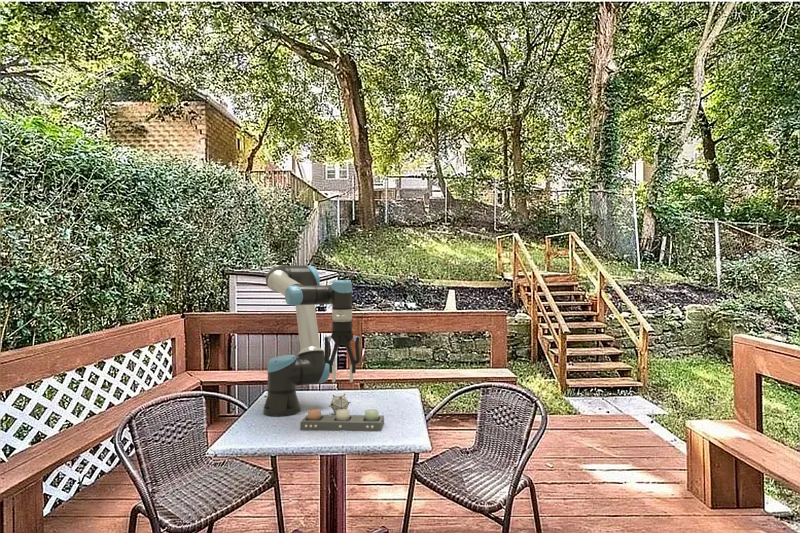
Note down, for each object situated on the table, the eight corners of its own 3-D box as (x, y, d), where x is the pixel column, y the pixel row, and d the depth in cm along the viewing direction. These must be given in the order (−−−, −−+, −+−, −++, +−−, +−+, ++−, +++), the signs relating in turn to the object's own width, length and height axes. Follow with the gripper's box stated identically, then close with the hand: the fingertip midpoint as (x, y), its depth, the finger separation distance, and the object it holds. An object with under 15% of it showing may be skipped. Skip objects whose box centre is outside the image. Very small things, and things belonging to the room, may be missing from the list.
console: (299, 430, 204) (299, 422, 204) (307, 422, 215) (307, 414, 215) (380, 431, 202) (380, 423, 202) (384, 423, 213) (383, 415, 213)
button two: (364, 422, 206) (364, 412, 206) (366, 419, 211) (366, 409, 211) (377, 422, 205) (377, 412, 205) (379, 419, 210) (379, 409, 210)
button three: (306, 422, 207) (306, 411, 207) (309, 418, 212) (309, 408, 212) (319, 422, 207) (319, 412, 207) (322, 418, 212) (322, 408, 212)
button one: (335, 422, 206) (335, 412, 207) (337, 419, 211) (337, 409, 212) (348, 422, 206) (348, 412, 206) (350, 419, 211) (350, 409, 211)
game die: (342, 423, 227) (345, 407, 221) (324, 415, 229) (326, 399, 223) (351, 409, 234) (355, 392, 229) (333, 401, 236) (336, 385, 230)
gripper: (315, 321, 207) (315, 383, 206) (365, 321, 205) (366, 383, 205) (319, 320, 214) (320, 379, 214) (368, 319, 213) (368, 380, 212)
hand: (342, 381), depth 209 cm, fingers open, 6 cm apart
